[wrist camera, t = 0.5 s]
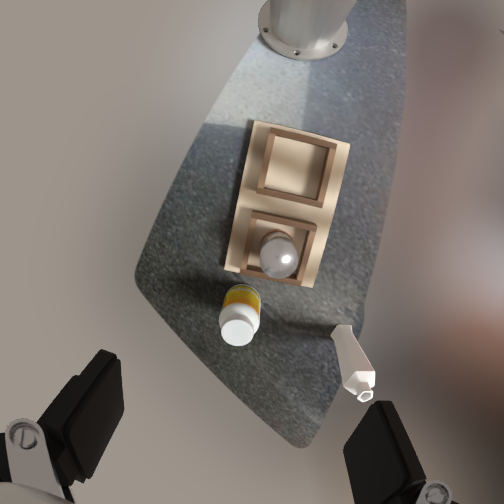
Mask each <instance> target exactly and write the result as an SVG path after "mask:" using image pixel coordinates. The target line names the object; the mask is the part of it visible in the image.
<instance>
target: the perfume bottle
mask: <svg viewBox="0 0 504 504" xmlns="http://www.w3.org/2000/svg"><path fill="white" fill-rule="evenodd" d="M330 336H331V338H332V339H333V340H334V341H335V346H336V351H337V356H338V361H339V366H340V371H341V376H342V382H343V386H344V388H346V389H347V390H348V391H350V392H351V393H353V394H354V395H356V394H357V395H358V397H357V399H358V400H360V401H361V402H365V401H367V400H369V399H371V398H372V397H373V391H371V387H373V386H374V383H375V371H374V369H373V367H372V366H371V364H370V362H369V361H368V359H367V357H366V355H365V354H364V352H363V350H362V348H361V347H360V345H359V343H358V342H357V340H356V338H355V337H354V335H353V333H352V326H351V325H341V324H338V325H337V326H336V327H335V329H334V330H333V332H332V333H331V335H330Z"/></svg>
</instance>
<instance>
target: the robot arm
mask: <svg viewBox="0 0 504 504" xmlns="http://www.w3.org/2000/svg"><path fill="white" fill-rule="evenodd" d="M356 1H357V0H268V1H267V2H266V3H265V4H264V5H263V7H262V8H261V11H260V13H259V18H258V26H259V30H260V33H261V35H262V37H263V39H264V40H265V42H266V43H267V44H268V45H269V46H270V47H271V48H272V49H273V50H275V51H276V52H278V53H280V54H281V55H284V56H286V57H288V58H292V59H295V60H301V61H317V60H322V59H325V58H328V57H330V56H332V55H333V54H335V53H336V52H337V51H338V50H339V49H340V48H341V47H342V46H343V44H344V43H345V40H346V38H347V33H348V27H347V22H346V18H347V16H348V14H349V13H350V11H351V9H352V8H353V6H354V5H355V3H356ZM265 31H267V32H266V33H265ZM333 47H335V48H333ZM295 54H298V55H295ZM123 413H124V400H123V389H122V377H121V362H120V360H119V359H117V356H116V354H114V353H111V352H108V351H105V350H103V349H101V350H99V352H98V353H97V354H96V355H95V356H94V358H93V359H92V360H91V361H90V363H89V364H88V365H87V366H86V368H85V369H84V370H83V371H82V372H81V374H80V375H79V376H78V375H75V376H73V377H72V378H71V379H70V380H69V381H68V383H67V384H66V385H65V386H64V388H63V389H62V390H61V391H60V393H59V394H58V395H57V397H56V398H55V399H54V400H53V402H52V403H51V404H50V405H49V407H48V408H47V409H46V411H45V412H44V413H43V415H42V416H41V417H40V418H39V420H38V421H37V422H34V421H32V420H29V419H24V418H21V419H16V420H14V421H12V422H11V423H10V424H9V425H8V426H7V428H6V431H5V433H0V504H77V502H76V500H75V497H74V494H73V492H72V489H71V485H72V484H73V482H74V480H77V481H79V482H81V483H84V481H85V479H86V478H88V479H90V478H91V477H92V475H93V473H94V471H95V469H96V467H97V465H98V463H99V461H100V459H101V457H102V455H103V453H104V451H105V449H106V447H107V445H108V443H109V441H110V439H111V437H112V435H113V433H114V431H115V429H116V427H117V425H118V423H119V421H120V419H121V417H122V415H123ZM343 453H344V457H345V462H346V466H347V470H348V475H349V479H350V484H351V489H352V493H353V498H354V502H355V504H458V503H456V502H454V501H452V500H451V499H452V493H451V490H450V488H449V487H448V486H447V485H446V484H445V483H443V482H441V481H437V480H434V481H430V482H428V483H426V481H425V479H426V476H425V474H424V471H423V469H422V466H421V464H420V462H419V459H418V457H417V455H416V452H415V450H414V448H413V446H412V444H411V441H410V439H409V437H408V435H407V432H406V430H405V428H404V426H403V424H402V422H401V419H400V417H399V415H398V413H397V411H396V409H395V407H394V405H393V403H392V402H391V401H376V402H375V403H374V404H372V405H371V406H370V407H369V409H368V410H367V412H366V414H365V415H364V417H363V418H362V420H361V421H360V423H359V424H358V426H357V428H356V429H355V431H354V432H353V434H352V435H351V436H350V438H349V439H348V441H347V442H346V444H345V445H344V449H343Z"/></svg>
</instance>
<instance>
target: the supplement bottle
mask: <svg viewBox="0 0 504 504" xmlns="http://www.w3.org/2000/svg"><path fill="white" fill-rule="evenodd" d="M259 323H260V296H259V294H258V292H257V291H256V290H255V289H254V288H253V287H251V286H249V285H246V284H238V285H235V286H233V287H232V288H230V289H229V290H228V292H227V293H226V296H225V299H224V303H223V306H222V309H221V313H220V316H219V324H220V327H221V334H222V337H223V339H224V340H225V341H226V342H227V343H229V344H231V345H234V346H242V345H245V344H247V343H249V342H250V341H251V340H252V338H253V334H254V333H255V332H256V331H257V330H258V327H259Z"/></svg>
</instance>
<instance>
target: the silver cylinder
mask: <svg viewBox="0 0 504 504" xmlns="http://www.w3.org/2000/svg"><path fill="white" fill-rule="evenodd" d="M260 266H261V269H262V270H263V272H264V273H265V274H266V275H268V276H269V277H272V278H276V279H282V278H286V277H288V276H290V275H291V274H292V273H293V272H294V271H295V270H296V268H297V266H298V254H297V251H296V248H295V245H294V241H293V239H292V237H291V236H290V235H289V234H288V233H287V232H285V231H283V230H277V229H276V230H271V231H269V232H267V233H266V234H265V235H264V236H263V238H262V239H261V242H260Z"/></svg>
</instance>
